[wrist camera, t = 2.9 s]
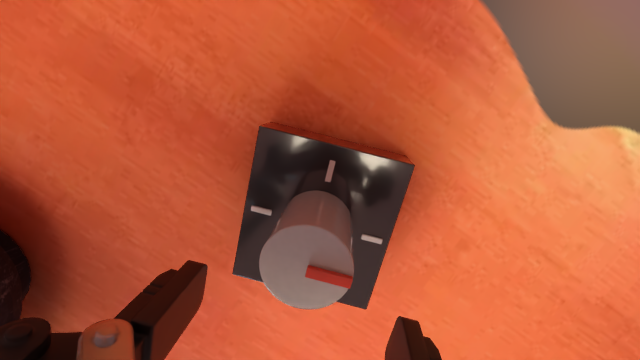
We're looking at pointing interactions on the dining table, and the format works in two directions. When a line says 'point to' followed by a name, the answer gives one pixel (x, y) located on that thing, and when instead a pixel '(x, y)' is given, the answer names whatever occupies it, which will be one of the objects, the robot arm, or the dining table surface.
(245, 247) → the hob panel
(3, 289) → the bowl
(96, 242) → the dining table surface
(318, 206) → the dial
